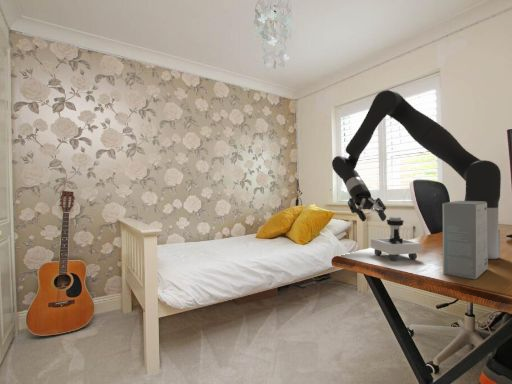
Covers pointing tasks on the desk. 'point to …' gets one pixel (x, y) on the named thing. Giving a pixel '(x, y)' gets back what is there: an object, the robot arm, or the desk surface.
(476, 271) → the hard drive box
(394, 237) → the push button
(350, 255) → the desk surface
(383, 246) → the parts trolley
